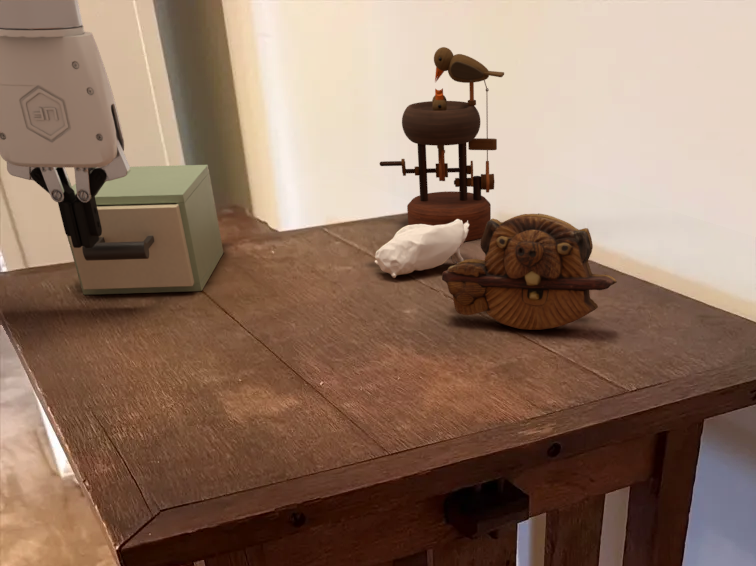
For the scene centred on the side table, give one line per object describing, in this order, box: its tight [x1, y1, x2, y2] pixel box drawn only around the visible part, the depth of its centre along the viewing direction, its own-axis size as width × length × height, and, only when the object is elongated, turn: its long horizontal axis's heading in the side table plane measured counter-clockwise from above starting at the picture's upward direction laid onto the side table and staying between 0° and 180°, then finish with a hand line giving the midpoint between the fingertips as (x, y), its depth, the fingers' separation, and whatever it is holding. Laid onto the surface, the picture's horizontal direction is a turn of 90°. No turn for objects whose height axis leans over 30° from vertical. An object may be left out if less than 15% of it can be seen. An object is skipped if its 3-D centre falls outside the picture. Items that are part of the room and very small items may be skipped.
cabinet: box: [66, 164, 224, 296], centre depth 101 cm, size 15×13×10 cm
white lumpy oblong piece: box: [374, 219, 469, 279], centre depth 101 cm, size 5×7×10 cm
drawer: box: [69, 203, 194, 290], centre depth 97 cm, size 18×11×8 cm, turn 3°
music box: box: [379, 46, 505, 242], centre depth 110 cm, size 15×11×20 cm
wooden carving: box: [441, 213, 618, 331], centre depth 85 cm, size 16×5×10 cm, turn 77°
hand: (86, 243), depth 88 cm, fingers closed
